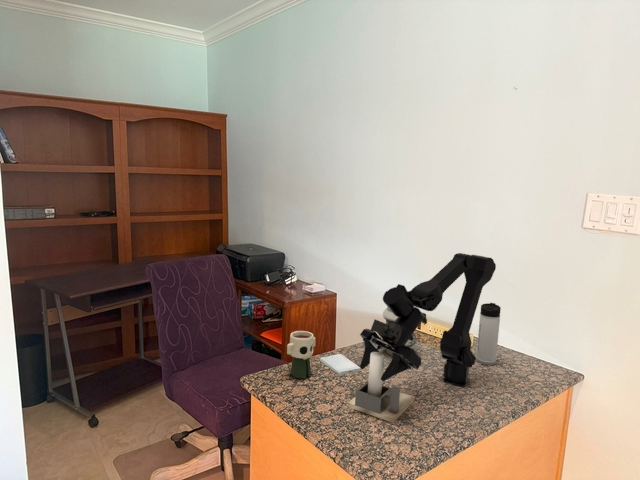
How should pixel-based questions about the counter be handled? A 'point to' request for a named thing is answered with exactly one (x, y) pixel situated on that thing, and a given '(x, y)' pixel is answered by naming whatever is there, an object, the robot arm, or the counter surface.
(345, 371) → the hard drive
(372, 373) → the white tall cylinder
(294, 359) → the character mug
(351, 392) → the counter surface
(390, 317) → the apothecary jar
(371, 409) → the cup bracket
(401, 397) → the mounting board
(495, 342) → the travel mug
